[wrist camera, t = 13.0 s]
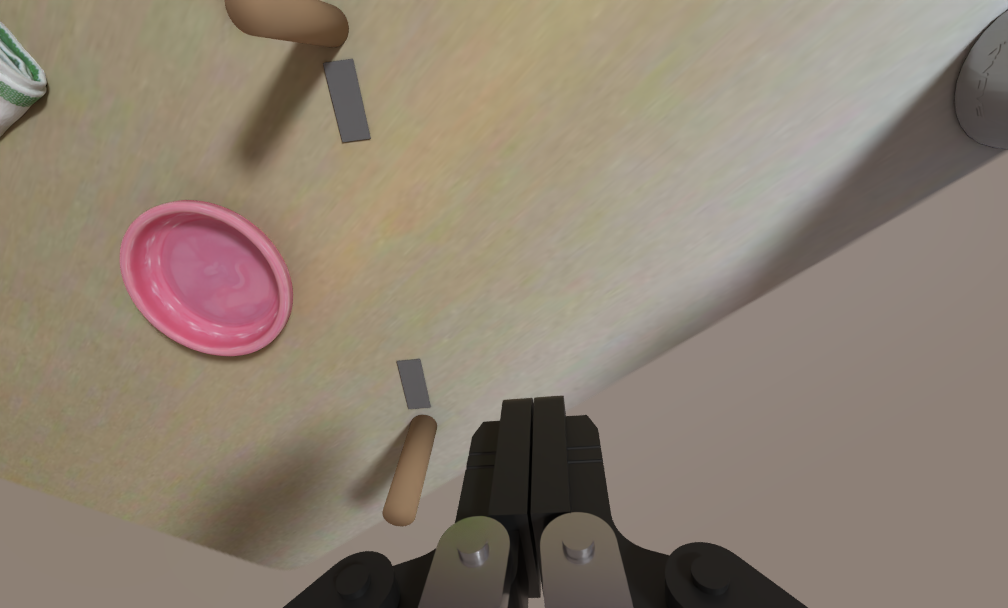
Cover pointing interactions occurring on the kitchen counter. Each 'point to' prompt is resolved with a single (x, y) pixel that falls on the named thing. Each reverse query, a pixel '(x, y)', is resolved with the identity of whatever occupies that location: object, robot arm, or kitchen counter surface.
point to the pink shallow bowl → (206, 277)
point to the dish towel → (17, 79)
